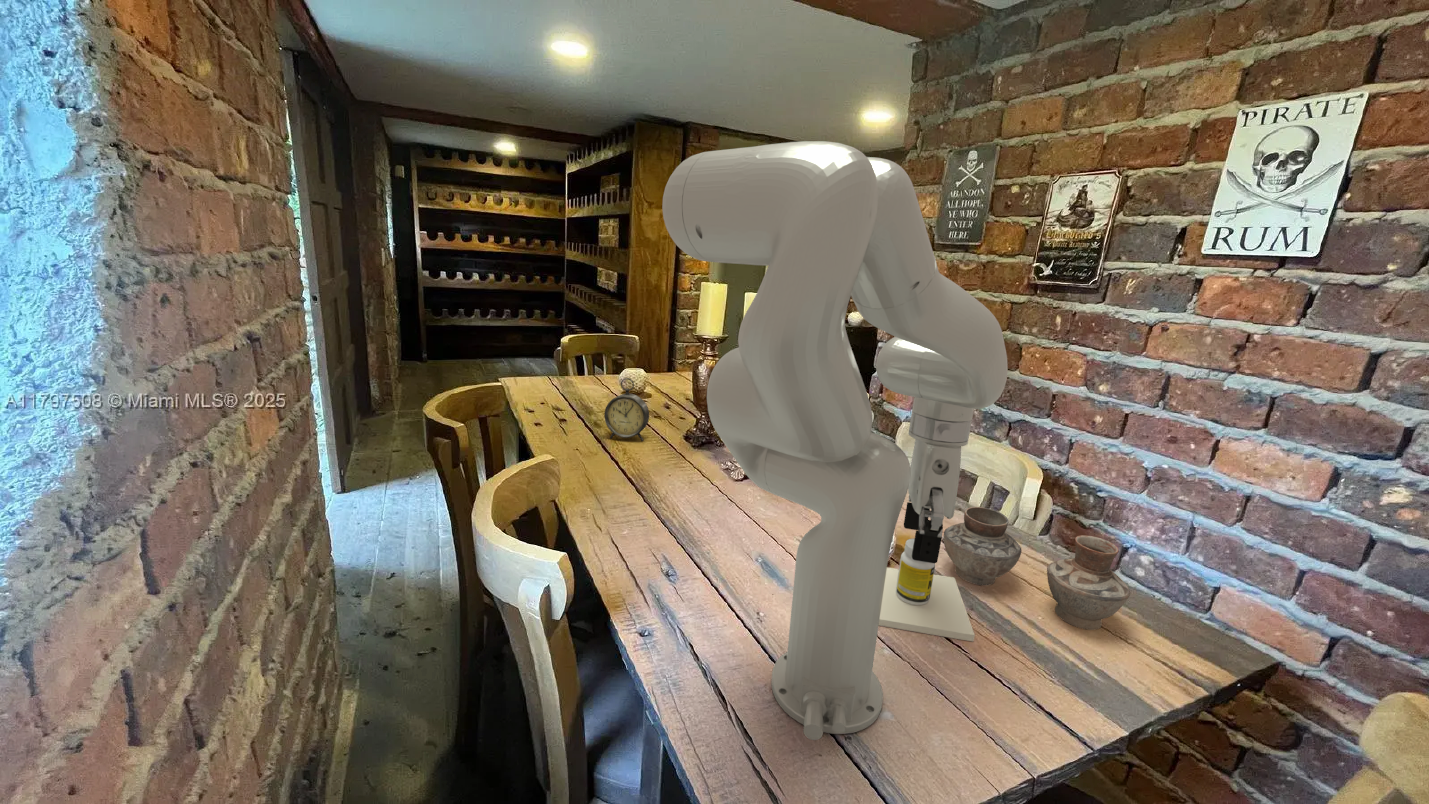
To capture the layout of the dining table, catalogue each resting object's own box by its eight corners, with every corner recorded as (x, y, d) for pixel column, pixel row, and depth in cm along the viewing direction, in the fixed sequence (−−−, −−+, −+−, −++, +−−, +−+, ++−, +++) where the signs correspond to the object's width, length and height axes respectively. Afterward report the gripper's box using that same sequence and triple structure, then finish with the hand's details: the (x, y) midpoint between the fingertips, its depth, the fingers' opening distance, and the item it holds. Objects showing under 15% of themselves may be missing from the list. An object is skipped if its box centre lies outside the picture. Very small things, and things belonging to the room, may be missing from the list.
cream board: (973, 641, 74) (974, 635, 74) (865, 623, 77) (865, 616, 77) (953, 583, 87) (954, 577, 87) (861, 569, 90) (862, 563, 90)
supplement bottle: (931, 608, 79) (940, 555, 77) (897, 603, 80) (905, 550, 78) (926, 589, 84) (934, 539, 81) (893, 584, 85) (901, 534, 82)
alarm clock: (603, 439, 144) (603, 378, 140) (611, 433, 149) (610, 374, 145) (644, 444, 143) (645, 382, 138) (650, 437, 148) (651, 377, 143)
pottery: (1111, 653, 73) (1133, 573, 70) (926, 574, 90) (937, 506, 87) (1126, 616, 81) (1146, 543, 78) (953, 550, 98) (964, 487, 95)
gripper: (985, 450, 66) (959, 580, 70) (956, 416, 82) (936, 522, 86) (918, 442, 67) (897, 570, 71) (903, 409, 84) (886, 515, 88)
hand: (919, 544), depth 79 cm, fingers open, 9 cm apart
